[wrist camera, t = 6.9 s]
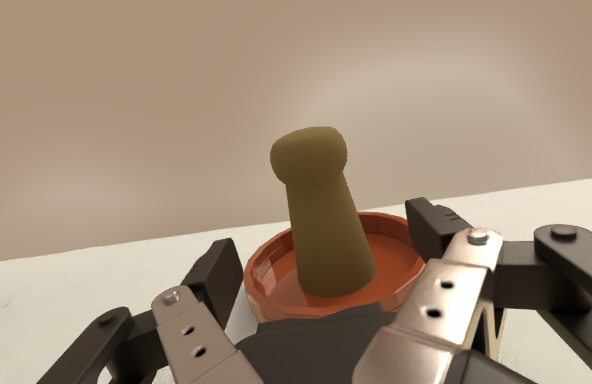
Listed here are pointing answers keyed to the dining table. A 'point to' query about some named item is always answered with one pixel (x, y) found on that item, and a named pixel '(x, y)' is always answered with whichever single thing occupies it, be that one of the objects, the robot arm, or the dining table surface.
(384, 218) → the dish
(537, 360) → the dining table surface
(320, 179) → the brown game pawn
